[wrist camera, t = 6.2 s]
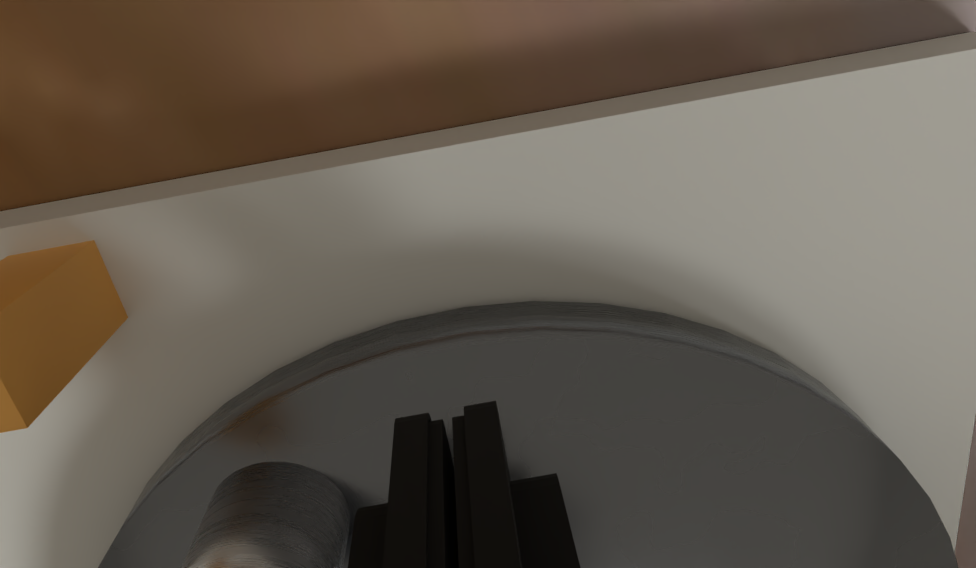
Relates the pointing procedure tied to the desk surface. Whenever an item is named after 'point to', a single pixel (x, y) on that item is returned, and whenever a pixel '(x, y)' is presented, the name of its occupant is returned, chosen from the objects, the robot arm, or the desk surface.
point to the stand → (508, 266)
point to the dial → (547, 448)
